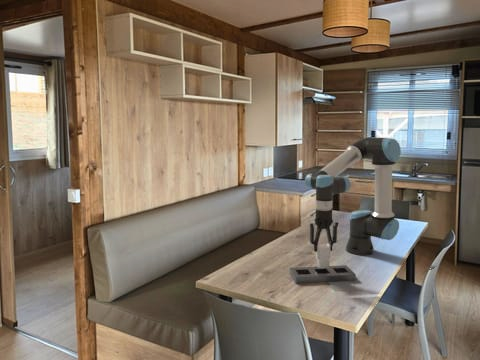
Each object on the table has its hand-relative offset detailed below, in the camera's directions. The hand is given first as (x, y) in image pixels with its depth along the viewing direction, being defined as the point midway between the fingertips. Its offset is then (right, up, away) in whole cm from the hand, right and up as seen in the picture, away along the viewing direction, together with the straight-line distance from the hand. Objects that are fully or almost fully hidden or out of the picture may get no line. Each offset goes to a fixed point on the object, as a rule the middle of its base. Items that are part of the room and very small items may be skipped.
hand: (322, 257), depth 193 cm
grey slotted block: (0, -10, +1) cm, 11 cm away
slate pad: (+7, -12, -9) cm, 16 cm away
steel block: (0, -4, +1) cm, 4 cm away
